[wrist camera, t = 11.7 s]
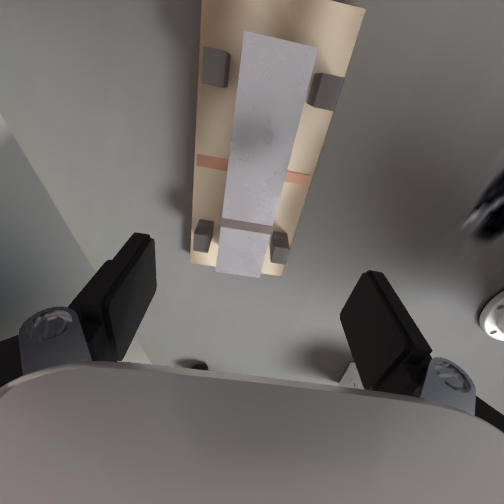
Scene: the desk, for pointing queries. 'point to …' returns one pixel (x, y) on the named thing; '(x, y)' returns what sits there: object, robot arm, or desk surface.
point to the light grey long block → (261, 146)
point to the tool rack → (224, 99)
